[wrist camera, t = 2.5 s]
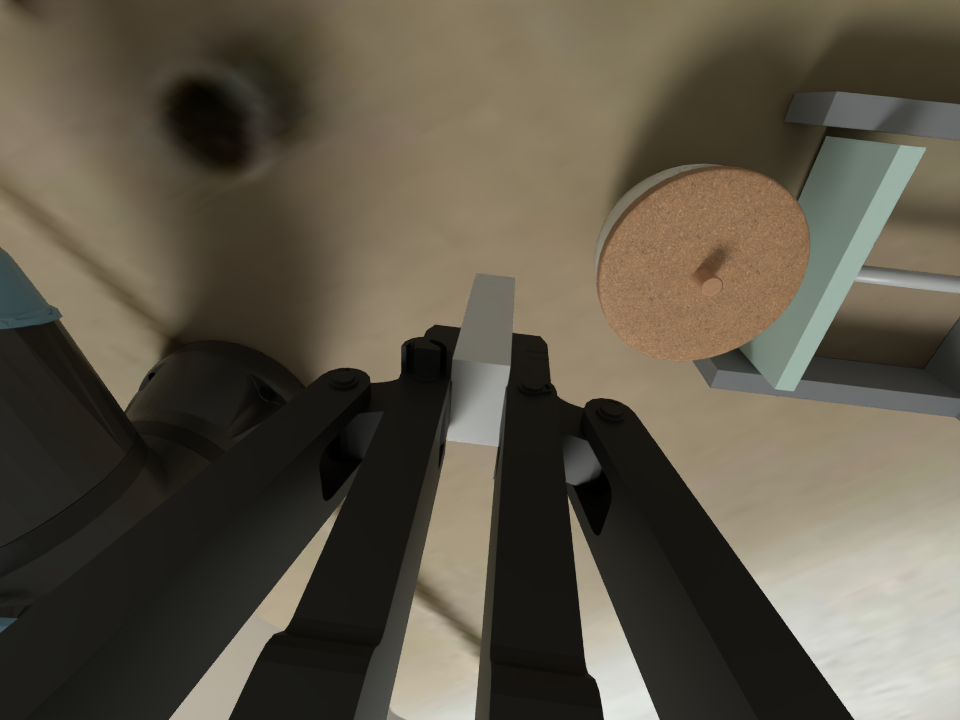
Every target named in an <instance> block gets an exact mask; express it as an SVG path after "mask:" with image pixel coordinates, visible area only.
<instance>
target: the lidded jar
mask: <svg viewBox="0 0 960 720" xmlns="http://www.w3.org/2000/svg"><path fill="white" fill-rule="evenodd" d="M809 255H810V233H809V227H808V223H807V220H806V217H805V214H804V212H803V210H802V208H801V206H800V205H799V203H798V201H797V200H796V199H795V197H794V196H793V195H792V194H791V193H790V192H789V191H788V189H786V188H785V187H784V186H782V185H781V184H780V183H778V182H777V181H776V180H774V179H772V178H770V177H768V176H765V175H763V174H761V173H759V172H756V171H752V170H748V169H744V168H740V167H731V166H723V165H716V164H691V165H682V166H678V167H674V168H670V169H666V170H664V171H662V172H659V173H657V174H654V175H652V176H650V177H648V178H646V179H645V180H643V181H641V182H640V183H638V184H636V185H635V186H634V187H633V188H631V189H630V190H629V191H628V192H626V193H625V194H624V195H623V197H622V198H621V199H620V200H619V201H618V202H617V203H616V204H615V206H614V207H613V208H612V210H611V211H610V212H609V214H608V216H607V218H606V219H605V221H604V223H603V225H602V228H601V230H600V233H599V236H598V239H597V242H596V248H595V253H594V275H595V282H596V287H597V291H598V298H599V301H600V304H601V307H602V310H603V313H604V315H605V317H606V319H607V321H608V323H609V325H610V326H611V328H612V329H613V330H614V331H615V333H616V334H617V335H618V336H619V337H620V338H621V339H622V340H623V341H625V342H626V343H627V344H628V345H630V346H631V347H633V348H635V349H636V350H638V351H640V352H642V353H645V354H647V355H650V356H652V357H657V358H661V359H665V360H676V361H687V360H699V359H704V358H710V357H714V356H717V355H720V354H723V353H726V352H728V351H731V350H733V349H736V348H738V347H740V346H742V345H744V344H745V343H747V342H749V341H750V340H752V339H754V338H755V337H756V336H758V335H759V334H761V333H762V332H763V331H765V330H766V329H767V328H768V327H769V326H770V325H771V324H773V323H774V322H775V321H776V320H777V319H778V318H779V317H780V315H781V314H782V313H783V312H784V311H785V309H786V308H787V307H788V306H789V305H790V303H791V301H792V300H793V298H794V296H795V295H796V293H797V291H798V290H799V287H800V285H801V283H802V281H803V278H804V276H805V273H806V269H807V265H808V262H809Z"/></svg>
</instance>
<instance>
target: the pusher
mask: <svg viewBox="0 0 960 720" xmlns="http://www.w3.org/2000/svg"><path fill="white" fill-rule="evenodd" d="M925 150H926V148H923V147H915V146H907V145H898V144H890V143H882V142H873V141H865V140H857V139H849V138H839V137H830V136H826V138H825V140H824V143H823V145H822V147H821V149H820V152H819V154H818V156H817V159H816V161H815V163H814V165H813V168H812V170H811V172H810V175H809V177H808V179H807V181H806V184H805V186H804V188H803V191H802V193H801V195H800V198H799V200H798V203H799V205H800V206H801V208H802V210H803V212H804V214H805V217H806V220H807V223H808V227H809V233H810V255H809V262H808V265H807V269H806V273H805V276H804V278H803V281H802V283H801V285H800V287H799V290H798V291H797V293H796V295H795V296H794V298H793V300H792V301H791V303H790V305H789V306H788V307H787V308H786V309H785V311H784V312H783V313H782V314H781V315H780V317H779V318H778V319H777V320H776V321H775V322H774V323H773V324H771V325H770V326H769V327H768V328H767V329H766V330H765V331H763V332H762V333H761V334H759V335H758V336H756V337H755V338H754V339H752V340H750V341H749V342H747V343H745V344H744V345H742V346H740V347H738V348H739V349H740V350H741V351H742V352H743V353H744V355H745V356H746V357H747V358H748V359H749V360H750V361H751V363H752V364H753V365H754V366H755V367H756V368H757V370H758V371H759V372H760V373H761V374H762V375H763V376H764V378H765V379H766V380H767V381H768V382H769V383H770V384H771V386H772V387H773V388H774V389H778V390H786V391H794V390H795V388H796V386H797V385H798V383H799V381H800V379H801V377H802V375H803V374H804V372H805V370H806V368H807V366H808V364H809V363H810V361H811V359H812V357H813V355H814V353H815V352H816V350H817V348H818V346H819V344H820V342H821V341H822V339H823V337H824V335H825V333H826V331H827V330H828V328H829V326H830V324H831V322H832V320H833V319H834V317H835V315H836V313H837V311H838V309H839V308H840V306H841V304H842V302H843V300H844V298H845V297H846V295H847V293H848V291H849V289H850V287H851V286H852V284H853V282H854V281H855V282H863V283H872V284H881V285H890V286H898V287H907V288H916V289H925V290H933V291H942V292H951V293H959V294H960V276H953V275H944V274H935V273H927V272H918V271H909V270H900V269H891V268H883V267H874V266H865V265H863V264H864V262H865V260H866V258H867V256H868V254H869V252H870V251H871V249H872V247H873V245H874V243H875V241H876V240H877V238H878V236H879V234H880V232H881V230H882V229H883V227H884V225H885V223H886V221H887V219H888V218H889V216H890V214H891V212H892V210H893V208H894V207H895V205H896V203H897V201H898V199H899V197H900V196H901V194H902V192H903V190H904V188H905V186H906V185H907V183H908V181H909V179H910V177H911V175H912V174H913V172H914V170H915V168H916V166H917V164H918V163H919V161H920V159H921V157H922V155H923V153H924V152H925Z"/></svg>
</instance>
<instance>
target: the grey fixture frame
mask: <svg viewBox="0 0 960 720" xmlns="http://www.w3.org/2000/svg"><path fill="white" fill-rule="evenodd" d="M784 122H792V123H801V124H810V125H820V126H829V127H838V128H848V129H857V130H866V131H876V132H885V133H894V134H904V135H913V136H922V137H932V138H941V139H950V140H960V104H952V103H942V102H933V101H923V100H914V99H904V98H895V97H885V96H876V95H867V94H857V93H848V92H838V91H833V92H795V94H794V96H793V99H792V102H791V104H790V107H789V109H788V112H787V115H786V117H785V120H784ZM692 361H693V362H694V364H695V365H696V367H697V368H698V370H699V371H700V373H701V374H702V376H703V377H704V379H705V380H706V382H707V384H708V385H709V387H710V388H716V389H724V390H733V391H741V392H749V393H757V394H766V395H774V396H782V397H791V398H799V399H807V400H816V401H824V402H832V403H840V404H849V405H857V406H865V407H874V408H882V409H890V410H899V411H907V412H915V413H923V414H932V415H940V416H948V417H955V418H957V419H958V420H960V318H959V320H958V321H957V323H956V324H955V325H954V327H953V328H952V330H951V331H950V332H949V334H948V335H947V337H946V338H945V340H944V341H943V342H942V344H941V345H940V347H939V348H938V350H937V351H936V352H935V354H934V355H933V357H932V358H931V360H930V361H929V362H928V364H927V365H926V367H925V368H924V369H917V368H909V367H900V366H892V365H883V364H875V363H866V362H858V361H849V360H841V359H832V358H824V357H816V356H813V357H812V359H811V361H810V363H809V364H808V366H807V368H806V370H805V372H804V374H803V375H802V377H801V379H800V381H799V383H798V385H797V386H796V388H795V390H794V391H786V390H778V389H774V388H773V387H772V386H771V384H770V383H769V382H768V381H767V380H766V379H765V378H764V376H763V375H762V374H761V373H760V372H759V371H758V370H757V368H756V367H755V366H754V365H753V364H752V363H751V361H750V360H749V359H748V358H747V357H746V356H745V355H744V353H743V352H742V351H741V350H740V349H739V348H736V349H733V350H731V351H728V352H726V353H723V354H720V355H717V356H714V357H710V358H704V359H699V360H692Z"/></svg>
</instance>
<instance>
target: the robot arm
mask: <svg viewBox="0 0 960 720" xmlns="http://www.w3.org/2000/svg"><path fill="white" fill-rule="evenodd" d="M514 290H515V278H512V277H504V276H495V275H487V274H478V273H476V276H475V280H474V283H473V287H472V290H471V294H470V298H469V301H468V305H467V309H466V312H465V316H464V319H463V323H462V327H461V328H458V327H450V326H442V325H434V326H433V327H431V328H430V329H428V330H427V331H426V333H425V335H424V337H417V338H412V339H410V340H408V341H405V342H404V344H403V345H402V346H401V374H400V377H399V379H397V380H393V381H389V382H380V383H370V377H369V376H368V375H367V373H366V372H363V371H361V370H359V369H353V368H338V369H335V370H331V371H328V372H327V373H325V374H323V375H321V376H320V377H319V378H318V379H316V380H315V381H314V382H313V383H311V384H310V385H309V386H308V387H306V388H304V387H303V386H302V385H301V383H300V382H299V381H298V380H297V379H296V378H295V377H294V376H293V375H292V374H291V373H290V372H289V371H287V370H286V369H285V368H284V367H282V366H281V365H280V364H278V363H277V362H275V361H274V360H272V359H271V358H269V357H267V356H265V355H263V354H261V353H259V352H257V351H255V350H252V349H250V348H247V347H244V346H241V345H237V344H233V343H228V342H221V341H202V342H195V343H191V344H188V345H185V346H182V347H180V348H178V349H176V350H175V351H173V352H172V353H171V354H169V355H168V356H167V357H165V358H164V359H162V360H161V361H160V362H158V363H157V364H156V365H155V366H154V367H153V368H152V369H151V370H150V371H149V372H148V373H147V375H146V376H145V378H144V379H143V381H142V383H141V385H140V387H139V391H138V392H137V393H136V394H135V396H134V397H133V399H132V400H131V402H130V403H129V405H128V407H127V408H126V410H125V412H124V411H123V410H122V408H121V407H120V406H119V404H118V403H117V401H116V400H115V398H114V397H113V396H112V394H111V393H110V391H109V390H108V388H107V387H106V386H105V384H104V383H103V381H102V380H101V379H100V377H99V376H98V374H97V373H96V371H95V370H94V369H93V367H92V366H91V364H90V363H89V361H88V360H87V359H86V357H85V356H84V354H83V353H82V351H81V350H80V349H79V347H78V346H77V344H76V343H75V341H74V340H73V339H72V337H71V336H70V334H69V333H68V331H67V330H66V329H65V327H64V326H63V324H62V323H61V321H60V320H59V319H60V318H61V317H62V314H61V313H60V312H59V310H58V309H57V308H55V307H54V306H52V305H49V304H48V303H47V302H46V300H45V299H44V298H43V297H42V295H41V294H40V293H39V291H38V290H37V289H36V288H35V286H34V285H33V284H32V282H31V281H30V280H29V279H28V277H27V276H26V275H25V274H24V272H23V271H22V270H21V268H20V267H19V266H18V265H17V263H16V262H15V261H14V259H13V258H12V257H11V256H10V255H9V254H8V253H7V252H6V251H5V250H3V249H2V248H1V247H0V720H169V718H170V717H171V716H172V715H173V713H174V712H175V711H176V709H177V708H178V707H179V706H180V705H181V703H182V702H183V701H184V699H185V698H186V697H187V696H188V694H189V693H190V692H191V691H192V689H193V688H194V687H195V686H196V684H197V683H198V682H199V681H200V679H201V678H202V677H203V675H204V674H205V673H206V672H207V671H208V669H209V668H210V667H211V666H212V664H213V663H214V662H215V660H216V659H217V658H218V657H219V655H220V654H221V653H222V652H223V650H224V649H225V648H226V647H227V645H228V644H229V643H230V642H231V640H232V639H233V638H234V636H235V635H236V634H237V633H238V631H239V630H240V629H241V628H242V626H243V625H244V624H245V623H246V621H247V620H248V619H249V618H250V616H251V615H252V614H253V613H254V611H255V610H256V609H257V608H258V606H259V605H260V604H261V602H262V601H263V600H264V599H265V597H266V596H267V595H268V594H269V592H270V591H271V590H272V589H273V587H274V586H275V585H276V584H277V582H278V581H279V580H280V579H281V577H282V576H283V575H284V573H285V572H286V571H287V570H288V568H289V567H290V566H291V565H292V563H293V562H294V561H295V560H296V558H297V557H298V556H299V555H300V553H301V552H302V551H303V550H304V548H305V547H306V546H307V545H308V543H309V542H310V541H311V539H312V538H313V537H314V536H315V534H316V533H317V532H318V531H319V529H320V528H321V527H322V526H323V524H324V523H325V522H326V521H327V519H328V518H329V517H330V516H331V514H332V513H333V512H334V510H335V509H336V508H337V507H338V505H339V504H340V503H341V502H342V500H343V499H344V498H345V497H346V498H345V501H344V503H343V505H342V507H341V510H340V512H339V514H338V516H337V519H336V521H335V523H334V526H333V528H332V530H331V532H330V535H329V537H328V539H327V541H326V544H325V546H324V548H323V550H322V553H321V555H320V557H319V559H318V562H317V564H316V566H315V568H314V571H313V573H312V575H311V577H310V580H309V582H308V584H307V586H306V589H305V591H304V593H303V595H302V598H301V600H300V602H299V604H298V607H297V609H296V611H295V613H294V616H293V618H292V620H291V622H290V624H289V625H288V627H287V628H286V629H285V630H284V631H282V632H279V633H276V634H274V635H273V636H272V638H270V639H269V641H268V642H267V643H266V644H265V646H264V648H263V650H262V652H261V653H260V655H259V657H258V659H257V661H256V663H255V665H254V667H253V669H252V671H251V673H250V675H249V678H248V680H247V682H246V684H245V686H244V688H243V690H242V692H241V695H240V697H239V699H238V701H237V703H236V705H235V707H234V709H233V711H232V714H231V716H230V718H229V720H386V718H387V714H388V709H389V705H390V700H391V696H392V691H393V686H394V682H395V677H396V673H397V668H398V664H399V659H400V655H401V650H402V646H403V641H404V637H405V632H406V627H407V623H408V618H409V614H410V609H411V605H412V600H413V596H414V591H415V587H416V582H417V577H418V573H419V568H420V564H421V559H422V555H423V550H424V546H425V541H426V537H427V532H428V527H429V523H430V518H431V514H432V509H433V505H434V500H435V496H436V491H437V487H438V482H439V478H440V473H441V468H442V464H443V459H444V455H445V445H446V436H447V440H449V441H456V442H464V443H472V444H480V445H488V446H495V447H498V451H497V458H496V465H495V471H494V478H493V479H495V481H494V493H493V505H492V518H491V530H490V542H489V554H488V566H487V579H486V591H485V603H484V615H483V627H482V639H481V652H480V664H479V676H478V688H477V700H476V712H475V720H604V718H603V710H602V704H601V698H600V693H599V689H598V686H597V683H596V680H595V679H594V678H593V677H592V676H591V675H589V674H588V671H587V668H586V663H585V657H584V647H583V638H582V628H581V619H580V609H579V600H578V590H577V581H576V571H575V562H574V552H573V543H572V533H571V523H570V514H569V504H568V497H569V499H570V501H571V504H572V506H573V509H574V511H575V514H576V516H577V519H578V521H579V523H580V526H581V528H582V531H583V533H584V536H585V538H586V541H587V543H588V545H589V548H590V550H591V553H592V555H593V558H594V560H595V563H596V565H597V567H598V570H599V572H600V575H601V577H602V580H603V582H604V585H605V587H606V589H607V592H608V594H609V597H610V599H611V602H612V604H613V607H614V609H615V611H616V614H617V616H618V619H619V621H620V624H621V626H622V629H623V631H624V633H625V636H626V638H627V641H628V643H629V646H630V648H631V651H632V653H633V655H634V658H635V660H636V663H637V665H638V668H639V670H640V673H641V675H642V677H643V680H644V682H645V685H646V687H647V690H648V692H649V695H650V697H651V699H652V702H653V704H654V707H655V709H656V712H657V714H658V717H659V719H660V720H854V719H853V717H852V716H851V714H850V713H849V712H848V710H847V709H846V707H845V706H844V705H843V703H842V702H841V700H840V699H839V698H838V696H837V695H836V693H835V692H834V691H833V689H832V688H831V686H830V685H829V684H828V682H827V681H826V680H825V678H824V677H823V675H822V674H821V673H820V671H819V670H818V668H817V667H816V666H815V664H814V663H813V661H812V660H811V659H810V657H809V656H808V654H807V653H806V652H805V650H804V649H803V647H802V646H801V645H800V643H799V642H798V640H797V639H796V638H795V636H794V635H793V633H792V632H791V631H790V629H789V628H788V626H787V625H786V624H785V622H784V621H783V619H782V618H781V617H780V615H779V614H778V612H777V611H776V610H775V608H774V607H773V605H772V604H771V603H770V601H769V600H768V598H767V597H766V596H765V594H764V593H763V591H762V590H761V589H760V587H759V586H758V584H757V583H756V582H755V580H754V579H753V577H752V576H751V575H750V573H749V572H748V570H747V569H746V568H745V566H744V565H743V564H742V562H741V561H740V559H739V558H738V557H737V555H736V554H735V552H734V551H733V550H732V548H731V547H730V545H729V544H728V543H727V541H726V540H725V538H724V537H723V536H722V534H721V533H720V531H719V530H718V529H717V527H716V526H715V524H714V523H713V522H712V520H711V519H710V517H709V516H708V515H707V513H706V512H705V510H704V509H703V508H702V506H701V505H700V503H699V502H698V501H697V499H696V498H695V496H694V495H693V494H692V492H691V491H690V489H689V488H688V487H687V485H686V484H685V482H684V481H683V480H682V478H681V477H680V475H679V474H678V473H677V471H676V470H675V468H674V467H673V466H672V464H671V463H670V461H669V460H668V459H667V457H666V456H665V454H664V453H663V452H662V450H661V449H660V447H659V446H658V445H657V443H656V442H655V441H654V439H653V438H652V436H651V435H650V434H649V432H648V431H647V429H646V428H645V427H644V425H643V424H642V422H641V421H640V420H639V418H638V417H637V415H636V414H635V413H634V412H633V411H632V410H631V409H630V408H629V407H628V406H626V405H624V404H622V403H621V402H618V401H616V400H612V399H604V398H598V399H592V400H590V401H589V402H587V403H586V405H585V407H584V408H581V407H578V406H575V405H573V404H570V403H568V402H566V401H564V400H562V399H560V398H559V397H558V396H557V391H556V389H555V387H554V385H552V384H551V379H550V368H549V358H548V347H547V344H546V342H545V341H544V340H543V339H542V338H541V337H540V336H533V335H525V334H517V333H512V328H513V309H514ZM567 494H568V495H567ZM346 495H347V496H346Z"/></svg>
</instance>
